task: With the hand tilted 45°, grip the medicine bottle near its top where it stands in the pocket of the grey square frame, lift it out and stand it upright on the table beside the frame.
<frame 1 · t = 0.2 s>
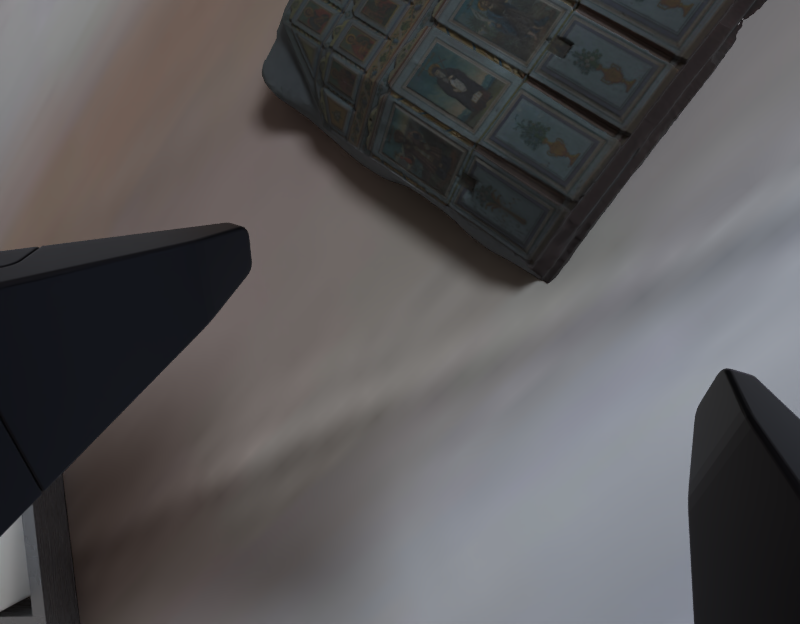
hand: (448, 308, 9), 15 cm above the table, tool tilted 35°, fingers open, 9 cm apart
medicine bottle: (4, 529, 33), resting in grey square frame
grey square frame: (2, 553, 32), on the table
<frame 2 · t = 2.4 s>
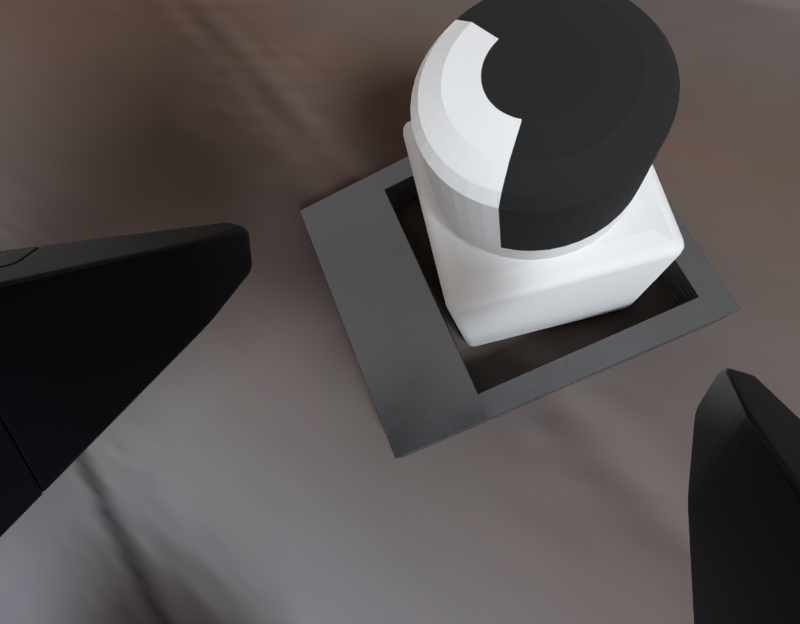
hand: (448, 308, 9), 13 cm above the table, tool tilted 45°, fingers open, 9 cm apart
medicine bottle: (524, 256, 22), resting in grey square frame
grey square frame: (494, 268, 22), on the table
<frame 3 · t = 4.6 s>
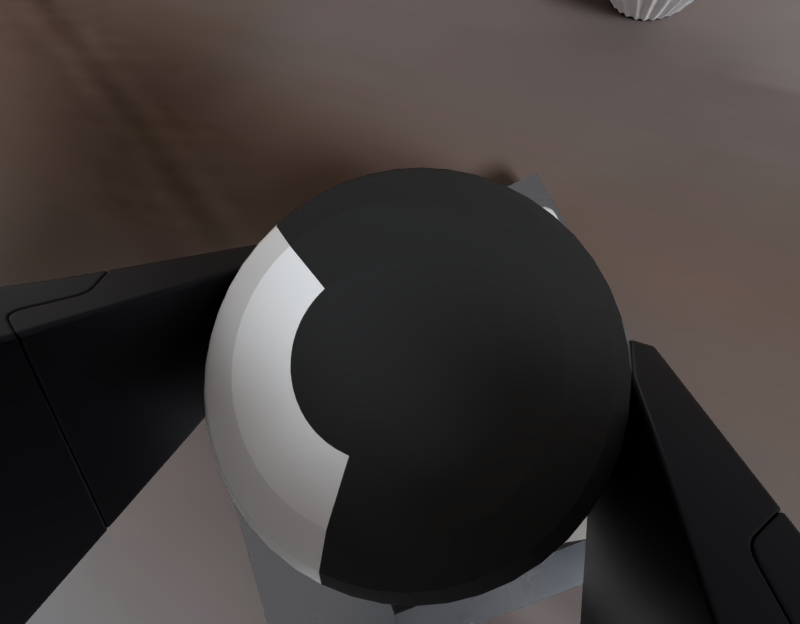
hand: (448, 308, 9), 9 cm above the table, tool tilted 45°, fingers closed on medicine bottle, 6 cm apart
medicine bottle: (468, 402, 18), resting in grey square frame, touching gripper
grey square frame: (430, 418, 18), on the table
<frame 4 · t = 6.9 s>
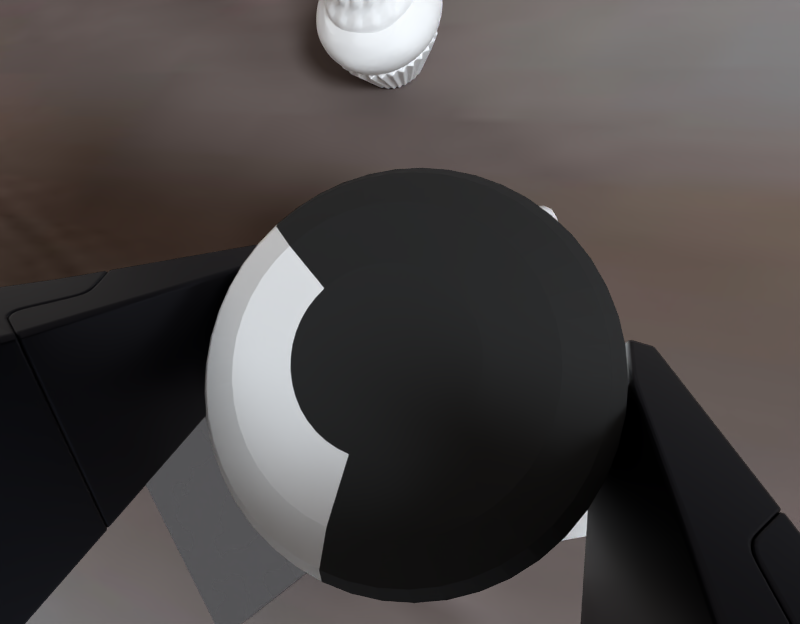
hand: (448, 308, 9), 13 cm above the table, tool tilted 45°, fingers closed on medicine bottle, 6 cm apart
medicine bottle: (467, 400, 18), point 4 cm above the table, touching gripper
grey square frame: (297, 414, 23), on the table
muffin: (395, 66, 27), on the table
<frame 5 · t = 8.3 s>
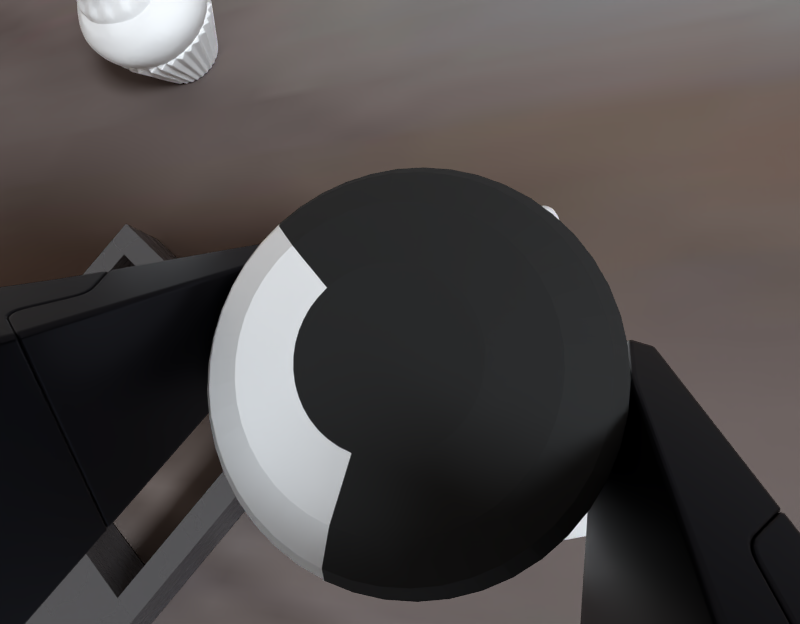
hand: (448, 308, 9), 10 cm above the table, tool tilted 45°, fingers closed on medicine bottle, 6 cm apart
medicine bottle: (469, 400, 18), point 1 cm above the table, touching gripper
grey square frame: (134, 438, 21), on the table
muffin: (193, 60, 25), on the table
when the fingers open (10 cm above the table, at t = 9.1 s): medicine bottle stays where it is, on the table.
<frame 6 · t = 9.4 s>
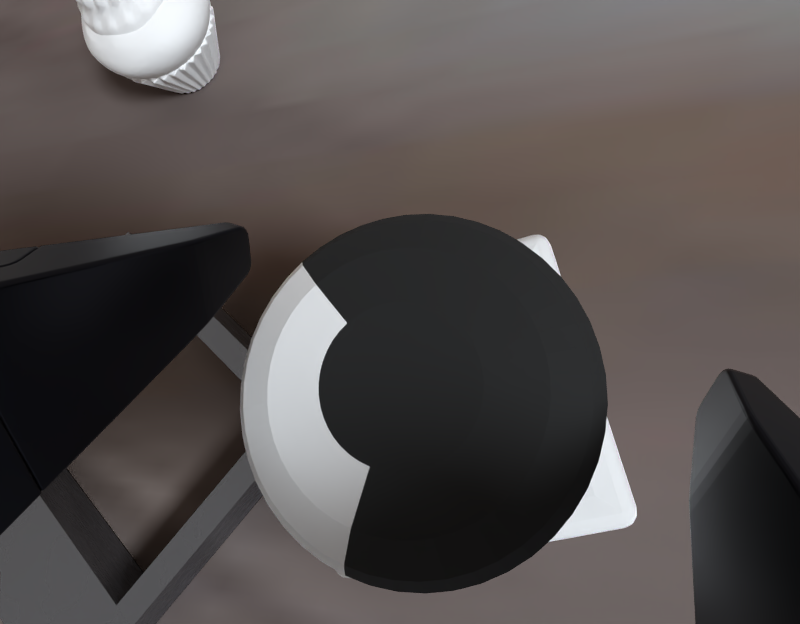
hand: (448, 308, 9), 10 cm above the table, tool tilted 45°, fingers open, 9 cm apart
medicine bottle: (469, 409, 19), on the table
grey square frame: (133, 445, 21), on the table
muffin: (195, 70, 26), on the table
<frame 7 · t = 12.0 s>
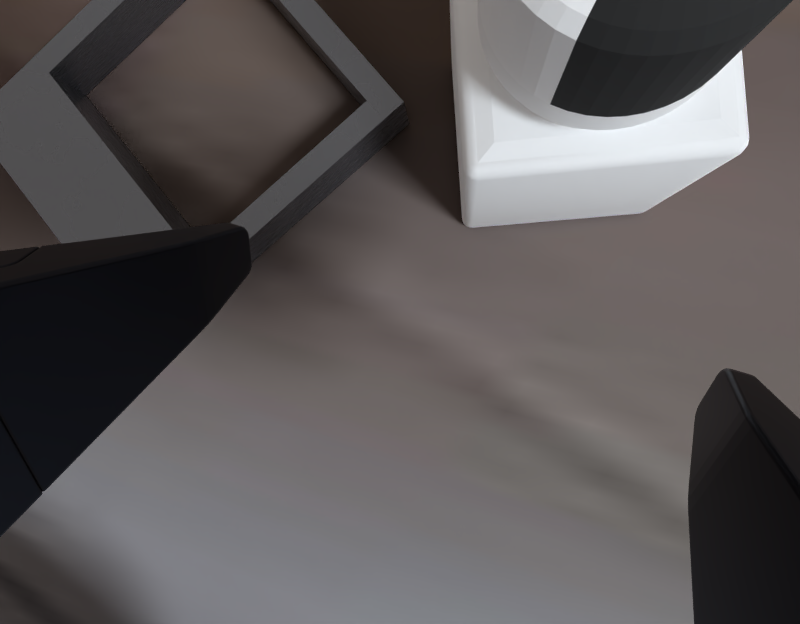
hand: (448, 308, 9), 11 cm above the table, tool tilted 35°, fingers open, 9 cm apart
medicine bottle: (545, 136, 20), on the table
grey square frame: (200, 131, 21), on the table
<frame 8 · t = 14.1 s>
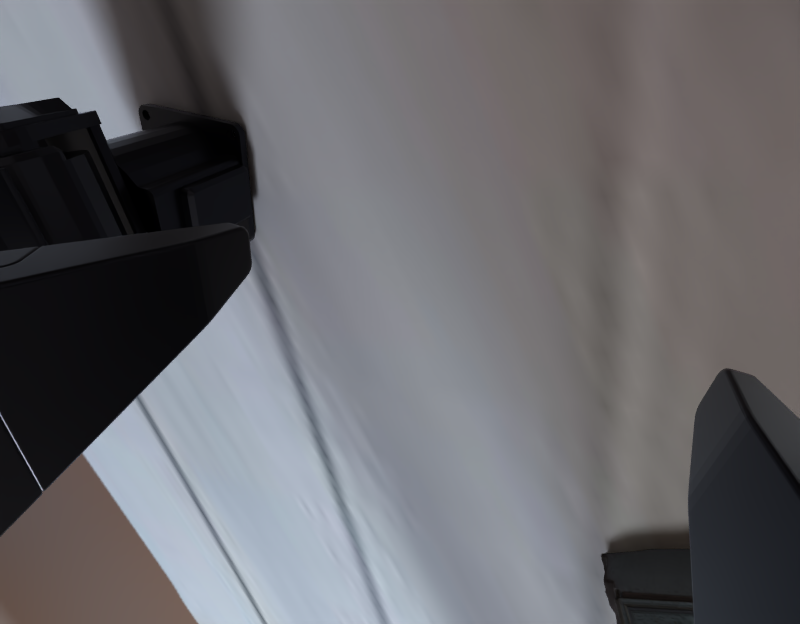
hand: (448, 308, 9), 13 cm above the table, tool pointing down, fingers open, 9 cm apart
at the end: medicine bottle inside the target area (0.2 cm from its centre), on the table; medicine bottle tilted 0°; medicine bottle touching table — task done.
